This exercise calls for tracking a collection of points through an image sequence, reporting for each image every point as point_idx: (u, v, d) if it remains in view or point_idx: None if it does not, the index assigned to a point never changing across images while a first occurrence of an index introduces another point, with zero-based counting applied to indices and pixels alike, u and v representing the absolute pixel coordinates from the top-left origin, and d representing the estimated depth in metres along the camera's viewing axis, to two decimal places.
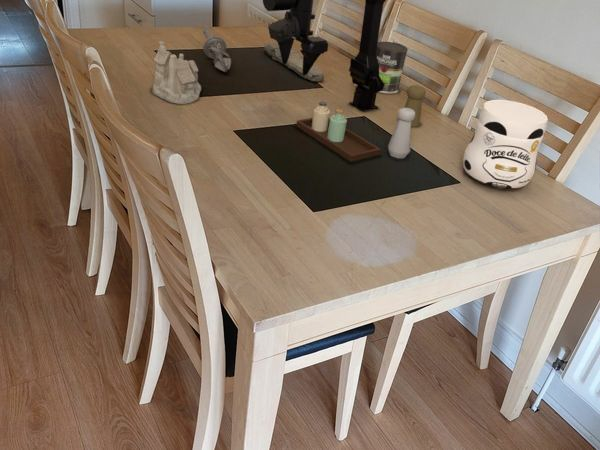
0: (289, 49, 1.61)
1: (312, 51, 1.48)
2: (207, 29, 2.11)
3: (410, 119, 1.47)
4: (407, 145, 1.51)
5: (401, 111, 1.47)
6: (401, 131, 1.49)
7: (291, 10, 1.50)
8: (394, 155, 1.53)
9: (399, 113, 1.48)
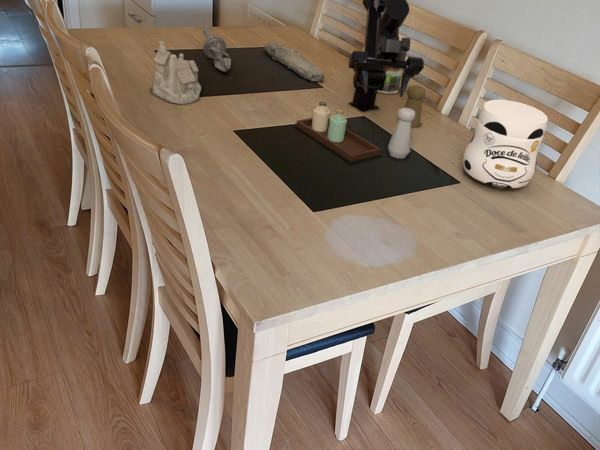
0: None
1: (423, 66, 1.53)
2: (207, 29, 2.11)
3: (410, 119, 1.47)
4: (407, 145, 1.51)
5: (401, 111, 1.47)
6: (401, 131, 1.49)
7: (388, 33, 1.52)
8: (394, 155, 1.53)
9: (399, 113, 1.48)
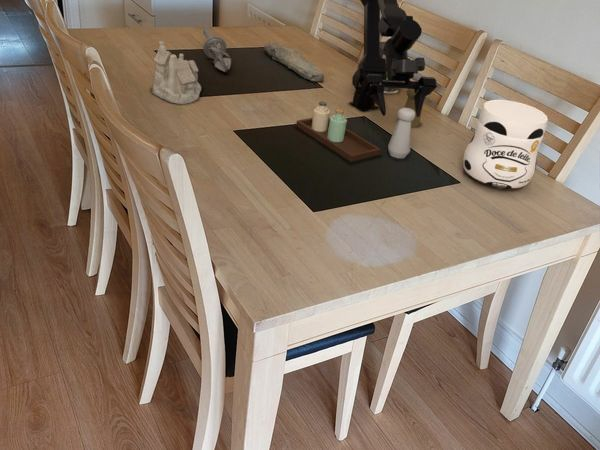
0: None
1: None
2: (207, 29, 2.11)
3: (410, 119, 1.47)
4: (407, 145, 1.51)
5: (401, 111, 1.47)
6: (401, 131, 1.49)
7: (399, 55, 1.52)
8: (394, 155, 1.53)
9: (399, 113, 1.48)
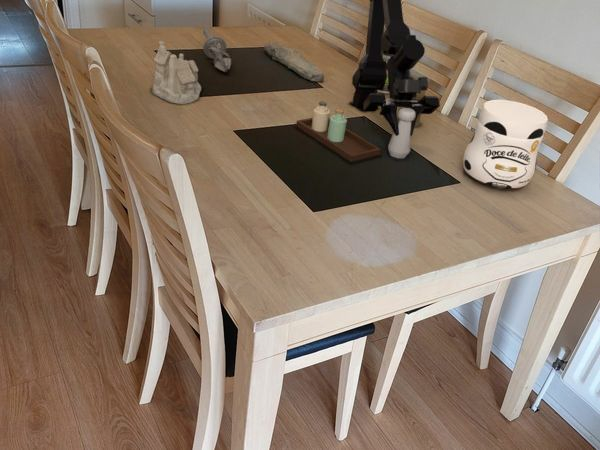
0: None
1: None
2: (207, 29, 2.11)
3: (410, 119, 1.47)
4: (407, 145, 1.51)
5: (401, 111, 1.47)
6: (402, 130, 1.49)
7: (402, 74, 1.51)
8: (394, 155, 1.53)
9: (399, 113, 1.48)
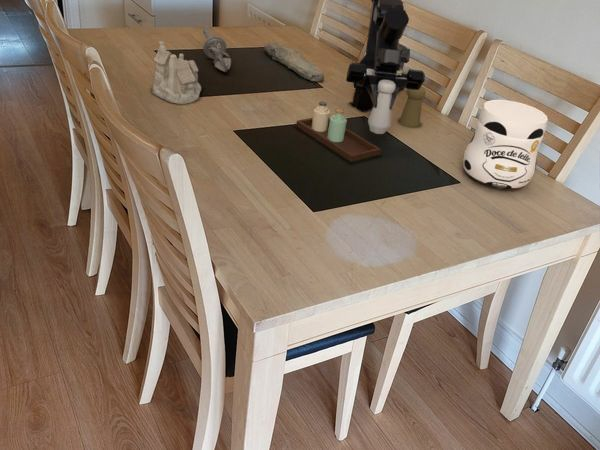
0: None
1: None
2: (207, 29, 2.11)
3: (389, 91, 1.43)
4: (386, 119, 1.47)
5: (380, 82, 1.43)
6: (380, 103, 1.45)
7: (388, 45, 1.46)
8: (372, 128, 1.49)
9: (378, 84, 1.44)
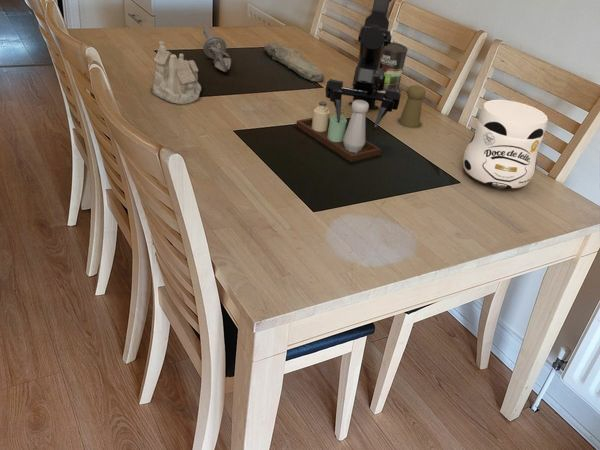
0: None
1: (399, 99, 1.48)
2: (207, 29, 2.11)
3: (360, 111, 1.47)
4: (358, 138, 1.50)
5: (353, 102, 1.47)
6: (353, 122, 1.49)
7: (367, 65, 1.50)
8: (346, 146, 1.52)
9: (352, 104, 1.48)
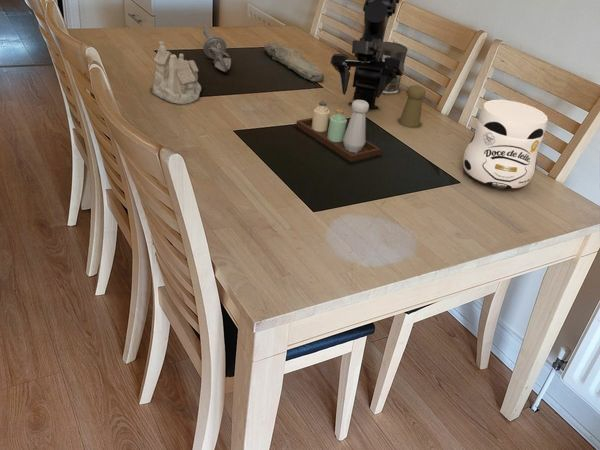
0: (347, 82, 1.59)
1: (399, 66, 1.51)
2: (207, 29, 2.11)
3: (361, 111, 1.47)
4: (358, 138, 1.50)
5: (353, 102, 1.47)
6: (353, 122, 1.49)
7: (368, 35, 1.55)
8: (346, 146, 1.52)
9: (352, 104, 1.48)
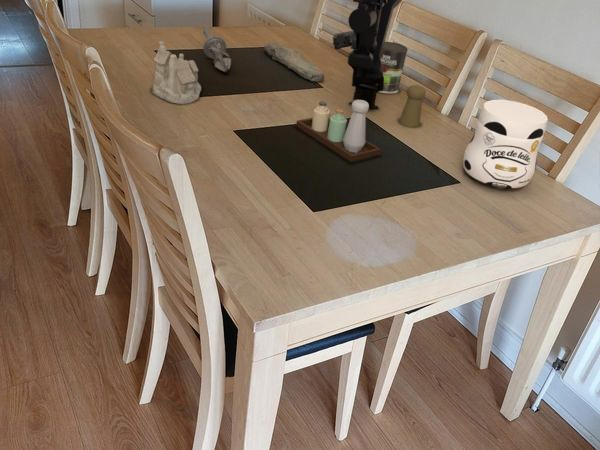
0: None
1: (350, 62, 1.53)
2: (207, 29, 2.11)
3: (361, 111, 1.47)
4: (358, 138, 1.50)
5: (353, 102, 1.47)
6: (353, 122, 1.49)
7: None
8: (346, 146, 1.52)
9: (352, 104, 1.48)
